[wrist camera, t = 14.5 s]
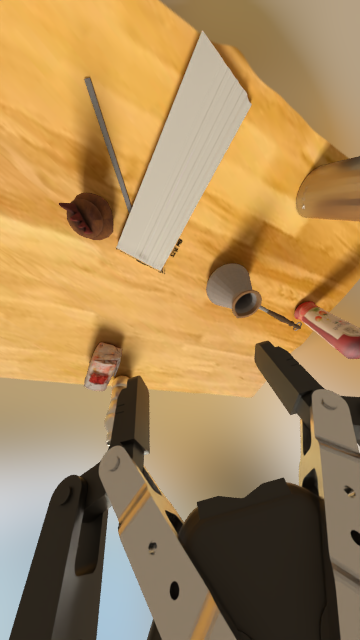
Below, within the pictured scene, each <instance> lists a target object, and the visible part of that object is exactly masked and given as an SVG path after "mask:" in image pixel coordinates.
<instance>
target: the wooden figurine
mask: <svg viewBox="0 0 360 640" xmlns="http://www.w3.org/2000/svg"><path fill="white" fill-rule="evenodd" d="M59 205H60V206H61V207H62V208H64V209H66V210H67V220H68V222H69V224H70V226H71V227H72V228H73V230H74V231H75V232H77V233H78V234H79V235H81V236H83V237H86V238H90V239H93V240H102V239H105V238H107V237H109V236H110V235H111V234H112V232H113V216H112V212H111V209H110V207H109V204H108V202H107V201H105V200H104V199H103V198H102V197H101V196H98V195H95V194H92V193H81V194H79V195H77V196H76V197H75V199H74V201H72V202H71V203H59Z"/></svg>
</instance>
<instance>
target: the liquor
mask: <svg viewBox="0 0 360 640" xmlns="http://www.w3.org/2000/svg"><path fill="white" fill-rule="evenodd" d="M295 318H296V319H299V320H301V321H303V322H304V323H305V324H306V325H308V326H309V327H310V328H311V329H313V330H314V331H315V332H316V333H318V334H319V335H320V336H321V337H322V338H323V339H325V340H326V341H327V342H328V343H329V344H331V345H332V346H333V347H334V348H336V349H337V350H338V351H339V352H341V353H342V354H343V355H344V356H346V357H347V358H348V359H359V358H360V328H358V327H357V326H355V325H353V324H351V323H349V322H347V321H345V320H343V319H341V318H338V317H337V316H335V315H333V314H331V313H329V312H327V311H325V310H323V309H322V308H320V307H318V306H316V305H315V303H314V302H312V301H308V302H305V303H302V304H300V305H299V306H298V307H297V308H296V310H295Z"/></svg>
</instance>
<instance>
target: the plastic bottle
mask: <svg viewBox="0 0 360 640" xmlns="http://www.w3.org/2000/svg"><path fill="white" fill-rule="evenodd" d="M128 379H129V378H128V377H127V376H118V377H116V378H115V379H114V380H113V383H112V394H111V402H110V405H109V410H108V412H107V415H106V418H105V421H104V424H105V428H106V430H107V432H108V434H107V437H106V438H107V439H106V445H109V446H110V441H111V435H112V429H113V422H114V416H115V410H116V404H117V398H118V396H119V394H120V392H121V390H122V389H124V388H126V387H127V380H128Z"/></svg>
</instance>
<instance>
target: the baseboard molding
mask: <svg viewBox="0 0 360 640" xmlns="http://www.w3.org/2000/svg"><path fill="white" fill-rule="evenodd" d="M250 107H251V103H250V102H249V100H248V97H247V93H246V91H245V90H244V89H243V88H242V86H241V85H240V84H239V81H238V80H237V79H236V78H235V77H234V75H233V74H232V72H231V70H230V69H229V67H227V65H226V64H225V62H224V61H223V59H222V57H221V56H220V54H219V53H218V52H217V50H216V49H215V47H214V46H213V44H212V43H211V42H210V40H209V39H208V37H207V36H206V35H205V33H204V32H203V30H202V32H201V35H200V37H199V40H198V42H197V45H196V47H195V50H194V52H193V55H192V57H191V60H190V63H189V65H188V68H187V70H186V73H185V75H184V78H183V80H182V83H181V85H180V88H179V90H178V93H177V95H176V98H175V100H174V103H173V106H172V108H171V111H170V113H169V116H168V118H167V121H166V123H165V126H164V128H163V131H162V133H161V136H160V138H159V141H158V143H157V146H156V149H155V151H154V154H153V156H152V159H151V161H150V164H149V166H148V169H147V171H146V174H145V176H144V179H143V181H142V184H141V186H140V189H139V192H138V194H137V197H136V199H135V202H134V204H133V207H132V209H131V212H130V214H129V217H128V219H127V222H126V224H125V227H124V229H123V232H122V235H121V237H120V240H119V242H118V245H117V247H116V249H117V248H118V249H120V250H122V251H124V252H126V253H127V255H128V254H129V255H131V256H133V257H135V258H137V259H139V260H140V263H142V262H144V263H146V264H148V265H150V266H152V267H153V269H154V268H155V269H158V270H160V271H162V270H161V269H162V268H163V266H164V264H165V262H166V260H167V258H168V257H169V255H170V253H171V251H172V249H173V247H174V246H175V244H176V242H177V240H178V238H179V236H180V235H181V233H182V231H183V229H184V227H185V226H186V224H187V222H188V220H189V218H190V216H191V215H192V213H193V211H194V209H195V207H196V205H197V204H198V202H199V200H200V198H201V196H202V194H203V193H204V191H205V189H206V187H207V185H208V183H209V182H210V180H211V178H212V176H213V174H214V173H215V171H216V169H217V167H218V165H219V163H220V162H221V160H222V158H223V156H224V154H225V152H226V151H227V149H228V147H229V145H230V143H231V141H232V140H233V138H234V136H235V134H236V132H237V131H238V129H239V127H240V125H241V123H242V121H243V120H244V118H245V116H246V114H247V112H248V110H249V109H250ZM179 240H180V239H179ZM179 240H178V241H179ZM180 241H182V240H180ZM180 241H179V242H180ZM179 242H177V243H178V244H176V245H177V246H178V245H179V244H180V243H182V242H180V243H179ZM174 249H175V247H174ZM177 250H178V249H177ZM122 251H121V252H122ZM173 251H175V250H173ZM124 252H123V253H124ZM126 253H125V254H126ZM172 253H173V252H172ZM174 255H175V253H174ZM174 255H171V256H173V257H174ZM135 258H134V259H135ZM137 259H136V261H138V262H139V260H137ZM141 261H142V262H141ZM144 263H142V264H144ZM146 264H144V265H146ZM148 265H147V266H148ZM150 266H149V267H150ZM152 267H151V268H152ZM160 273H161V272H160ZM162 273H163V271H162ZM164 274H165V273H164Z"/></svg>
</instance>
